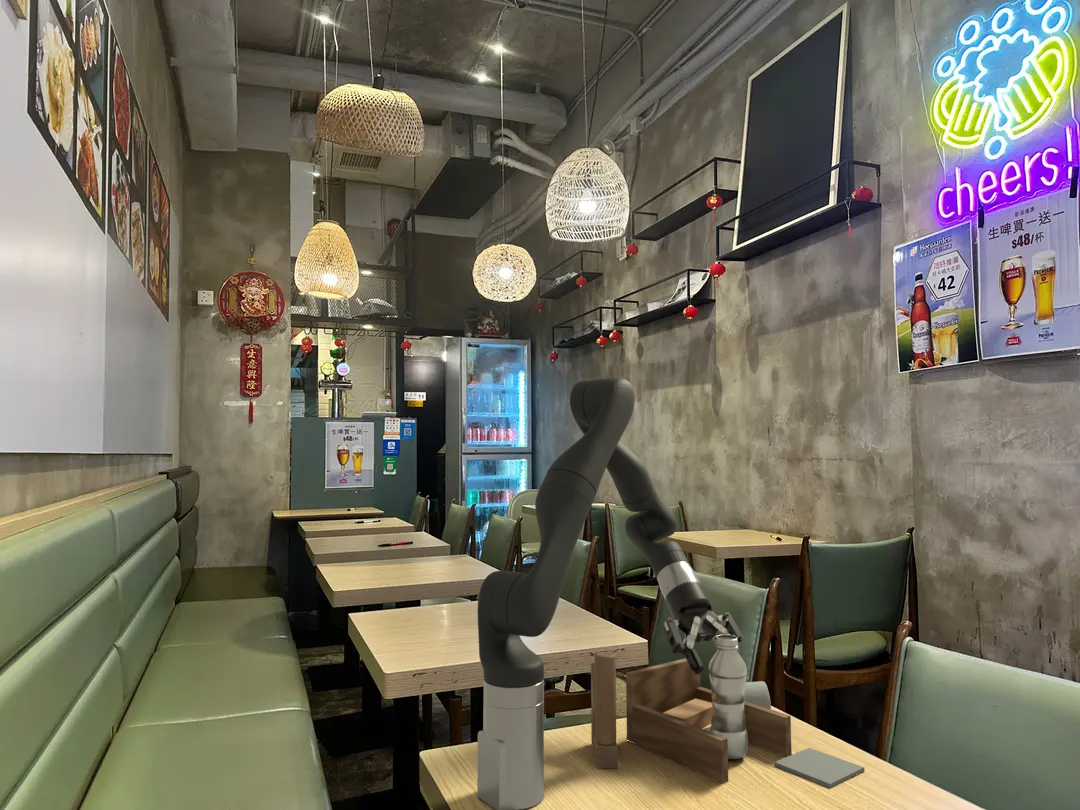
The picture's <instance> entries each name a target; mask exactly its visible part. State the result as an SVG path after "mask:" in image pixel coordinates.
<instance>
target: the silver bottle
mask: <svg viewBox="0 0 1080 810" xmlns="http://www.w3.org/2000/svg"><path fill="white" fill-rule="evenodd" d="M739 646H740V645H738V639H737V637H736V636H733V635H720V634H719V635H716V643H715V648H716V649H717V651H716V652H714V654H713V656H712V657H711V659H710V661H709V664H708V674H709V682H710V690H711V691H712V720H711V727H710V732H712V733H715V734H717V735H720V736H722V737H725V738H727V740H728V760H738V759H742V758H744V757H745V756H746V755H747V753H748V751H749V750H748V749H749V744H750V743H749V742H748V735H747V730H746V725H745V714H744V695H745V685H746V682H747V675H748V667H747V665H746V662H745V661H743V659H742V658H741V656H740V655H739V654H738V652H737V649H740V648H739Z"/></svg>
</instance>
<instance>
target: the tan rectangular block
mask: <svg viewBox="0 0 1080 810" xmlns="http://www.w3.org/2000/svg"><path fill="white" fill-rule="evenodd" d="M662 714H665V715H668V716H670V717H673V718H675V719H678V720H681V721H683V722H686V723H688V724H691V725H694V726H696V727H699V728H701V729H704V730H707V731H709V732H710V727H711V720H712V703H711V702H707V701H703V700H700V699H696V698H695V699H693V700H691V701H689V702H686V703H684V704H682V705H679V706H677V707H675V708H673V709H670V710H668V711H666V712H663V713H662Z"/></svg>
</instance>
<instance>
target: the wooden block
mask: <svg viewBox="0 0 1080 810" xmlns="http://www.w3.org/2000/svg"><path fill="white" fill-rule="evenodd" d="M616 657H617V656H616V654H615V653H613V652H610V651H599V652H596V653H595V654H594V657H593V658H594V661H593V662H591V664H590V696H591V697H590V698H591V699H590V701H591V705H590V707H591V708H590V717H591V720H590V721H591V722H590V723H591V724H590V725H591V726H590V727H591V729H590V732H591V735H590V736H591V742H592V743H591V747H593V748H592V750H593V749H594V750H593V756H594V757H593V758H594V761H595V767H596V769H618V768H619V746H618V743H617V675H616V674H617V673H616V672H617V671H616V669H617V666H616V663H617V662H616V661H617V660H616Z"/></svg>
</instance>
